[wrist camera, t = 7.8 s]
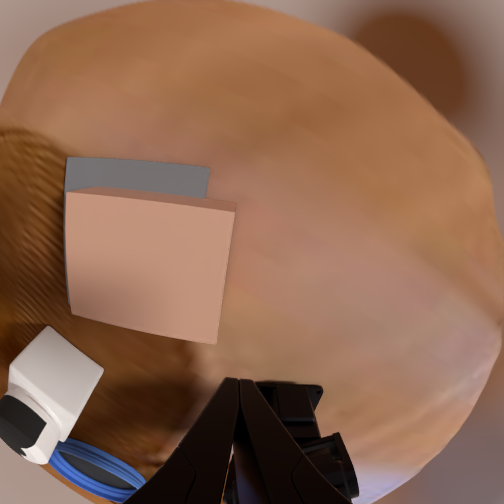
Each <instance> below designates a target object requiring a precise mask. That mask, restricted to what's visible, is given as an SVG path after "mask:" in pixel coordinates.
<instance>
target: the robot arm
mask: <svg viewBox="0 0 504 504" xmlns="http://www.w3.org/2000/svg"><path fill="white" fill-rule="evenodd" d="M258 388H260V389H258ZM318 390H319V391H318ZM322 394H323V388H322V387H321V386H307V385H282V384H267V383H256V384H255V383H254V382H253V381H252V380H250V379H239V380H238V379H237V378H231V377H226V378H224V380H223V381H222V383H221V384H220V386H219V387H218V389H217V390H216V392H215V393H214V395H213V396H212V398H211V399H210V401H209V402H208V403H207V405H206V406H205V408H204V409H203V411H202V412H201V414H200V415H199V417H198V418H197V419H196V421H195V422H194V424H193V425H192V427H191V428H190V429H189V431H188V432H187V434H186V435H185V436H184V438H183V439H182V441H181V442H180V443H179V445H178V447H176V449H175V450H174V451H173V453H172V454H171V456H170V457H169V458H168V459H167V460H166V462H165V463H164V464H163V465H162V467H161V468H160V469H159V470H158V471H157V472H156V473H155V474H154V475H153V476H152V477H151V478H150V479H149V480H148V481H147V482H146V483H145V484H144V485H142V486H141V487H140V488H139V489H138V490H137V491H136V492H135V493H133V494H132V495H131V496H130V497H129V498H128V499H127V500H125V501H124V502H123V503H122V504H220V503H221V498H222V493H223V489H224V484H225V479H226V474H227V469H228V464H229V459H230V454H231V449H232V444H233V451H234V454H233V455H232V460H231V461H230V465H229V470H228V475H227V480H226V485H225V490H224V496H223V502H224V503H225V504H353V503H352V501H351V499H352V498H356V497H359V487H358V482H357V477H356V474H355V470H354V467H353V464H352V462H351V459H350V457H349V454H348V452H347V450H346V447H345V445H344V443H343V440H342V438H341V436H340V433H339V432H337V433H333V434H332V435H330V436H326V437H323V438H321V435H320V431H319V428H318V424H317V420H316V417H315V413H314V411H315V409H316V407H317V405H318V403H319V400H320V398H321V396H322Z"/></svg>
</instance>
